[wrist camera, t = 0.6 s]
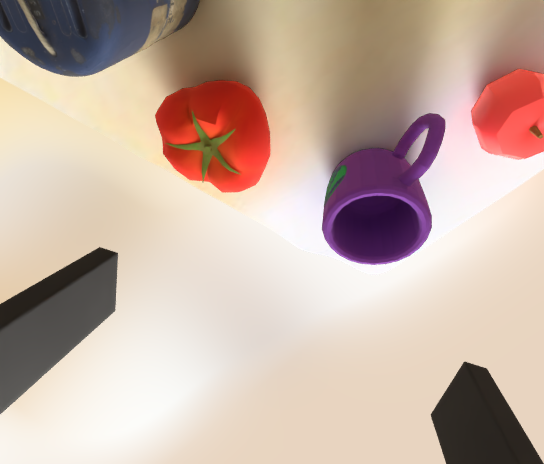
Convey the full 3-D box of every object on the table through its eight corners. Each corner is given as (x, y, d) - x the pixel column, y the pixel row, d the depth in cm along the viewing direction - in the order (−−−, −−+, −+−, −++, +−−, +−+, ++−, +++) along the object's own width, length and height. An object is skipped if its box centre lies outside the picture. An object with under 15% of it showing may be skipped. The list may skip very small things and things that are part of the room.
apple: (495, 150, 36) (523, 191, 30) (445, 111, 34) (464, 146, 28) (574, 90, 30) (626, 125, 25) (520, 39, 29) (563, 65, 23)
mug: (383, 224, 46) (390, 278, 38) (312, 195, 44) (305, 245, 37) (476, 117, 34) (511, 166, 27) (383, 73, 32) (393, 112, 25)
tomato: (304, 116, 37) (295, 153, 31) (248, 182, 45) (231, 223, 38) (203, 32, 33) (168, 55, 26) (160, 122, 41) (126, 156, 34)
